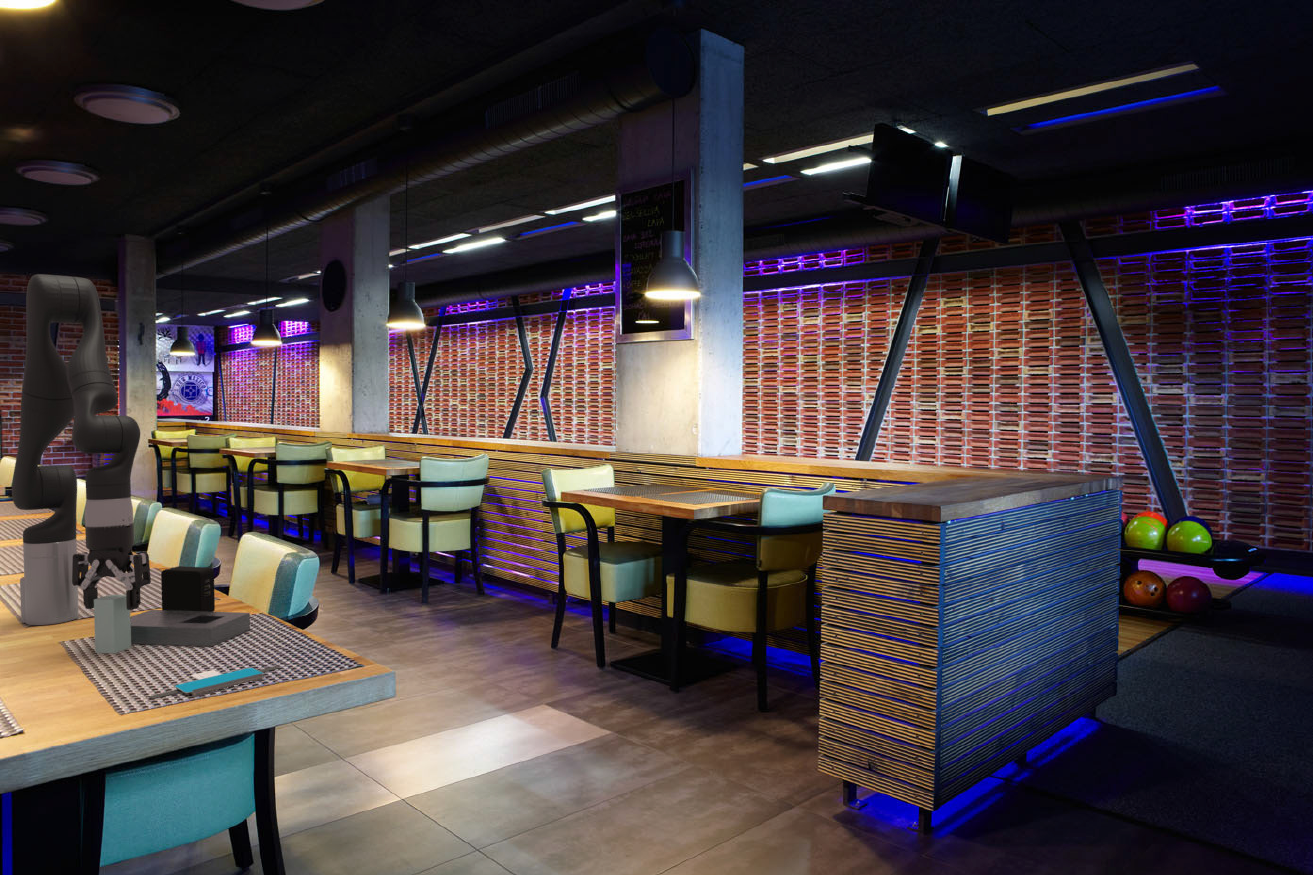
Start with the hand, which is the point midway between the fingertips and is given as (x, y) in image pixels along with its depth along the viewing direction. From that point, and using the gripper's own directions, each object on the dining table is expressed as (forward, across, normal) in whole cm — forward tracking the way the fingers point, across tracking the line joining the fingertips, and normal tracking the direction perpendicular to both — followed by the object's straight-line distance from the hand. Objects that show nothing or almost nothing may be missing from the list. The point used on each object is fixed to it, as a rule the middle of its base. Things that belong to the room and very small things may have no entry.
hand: (112, 608), depth 154 cm
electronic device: (+8, -5, +27) cm, 29 cm away
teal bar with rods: (+9, +31, -14) cm, 35 cm away
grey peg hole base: (+8, +6, +10) cm, 14 cm away
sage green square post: (+8, 0, 0) cm, 8 cm away
